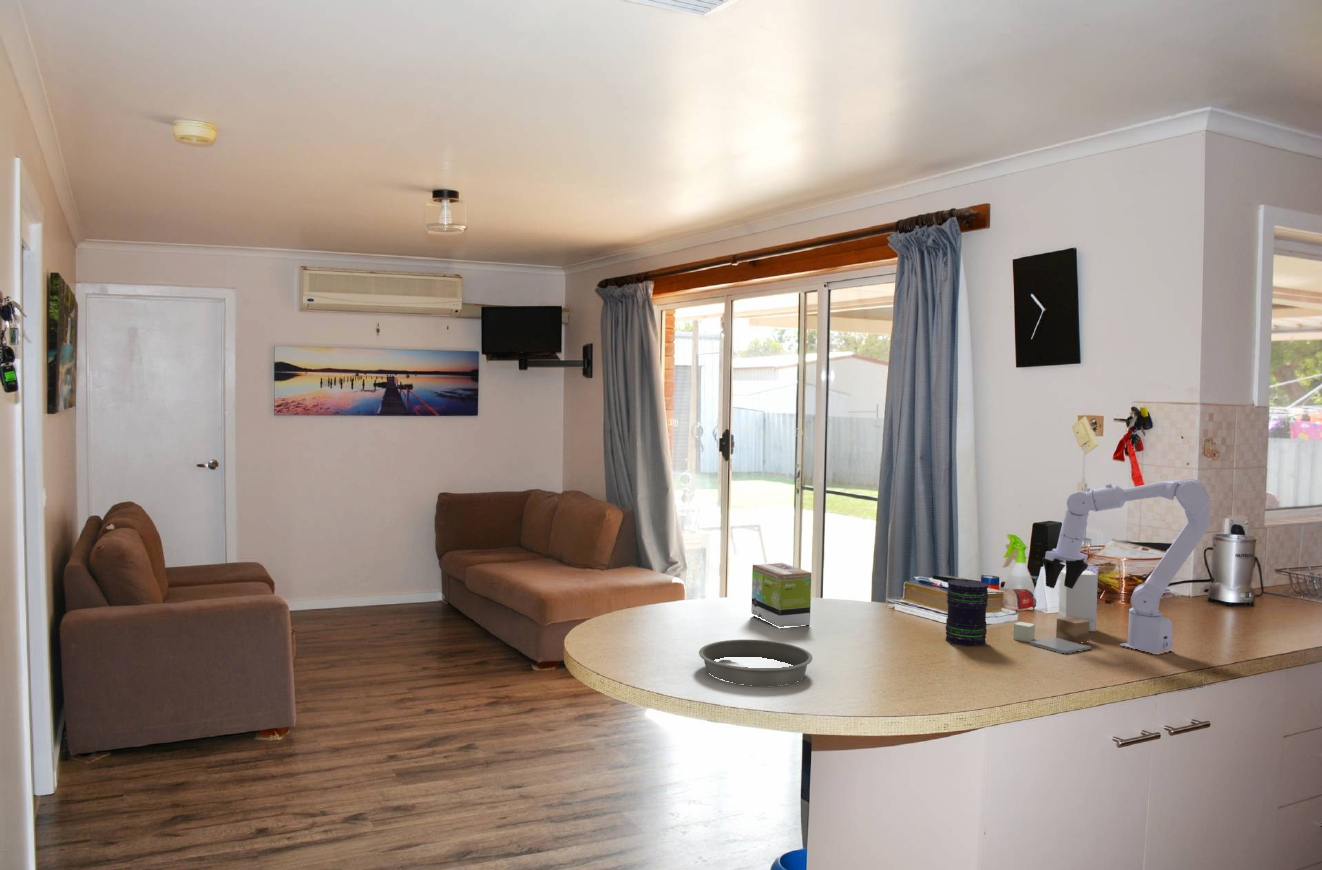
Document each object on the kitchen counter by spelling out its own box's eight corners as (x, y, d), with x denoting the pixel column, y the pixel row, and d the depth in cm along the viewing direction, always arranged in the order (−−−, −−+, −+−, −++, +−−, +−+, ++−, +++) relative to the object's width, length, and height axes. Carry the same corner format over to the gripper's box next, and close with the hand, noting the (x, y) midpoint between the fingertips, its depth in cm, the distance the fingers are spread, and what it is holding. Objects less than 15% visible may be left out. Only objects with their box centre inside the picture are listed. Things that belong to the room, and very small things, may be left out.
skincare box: (1088, 627, 259) (1090, 570, 259) (1097, 632, 253) (1099, 574, 252) (1056, 625, 260) (1059, 569, 260) (1064, 631, 254) (1067, 573, 253)
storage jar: (988, 648, 233) (991, 588, 232) (947, 645, 235) (949, 585, 234) (983, 638, 243) (985, 580, 242) (943, 635, 244) (945, 578, 244)
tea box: (749, 617, 260) (751, 563, 259) (780, 614, 264) (782, 561, 263) (778, 629, 246) (780, 573, 246) (811, 627, 250) (813, 571, 250)
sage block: (1034, 639, 244) (1035, 624, 243) (1029, 642, 240) (1029, 626, 240) (1018, 636, 246) (1019, 621, 246) (1013, 639, 243) (1014, 624, 243)
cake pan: (740, 652, 223) (740, 633, 223) (832, 673, 208) (833, 653, 208) (675, 673, 204) (675, 652, 204) (771, 698, 189) (772, 676, 189)
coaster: (1090, 649, 234) (1090, 646, 234) (1064, 654, 229) (1064, 651, 229) (1055, 640, 243) (1055, 637, 243) (1029, 644, 238) (1029, 641, 238)
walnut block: (1088, 642, 242) (1089, 621, 242) (1074, 644, 239) (1075, 623, 239) (1069, 637, 247) (1070, 616, 247) (1056, 639, 244) (1056, 618, 244)
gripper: (1075, 533, 252) (1063, 582, 254) (1040, 531, 245) (1028, 581, 246) (1099, 541, 246) (1086, 591, 248) (1063, 539, 239) (1051, 590, 240)
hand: (1059, 587), depth 247 cm, fingers open, 7 cm apart
